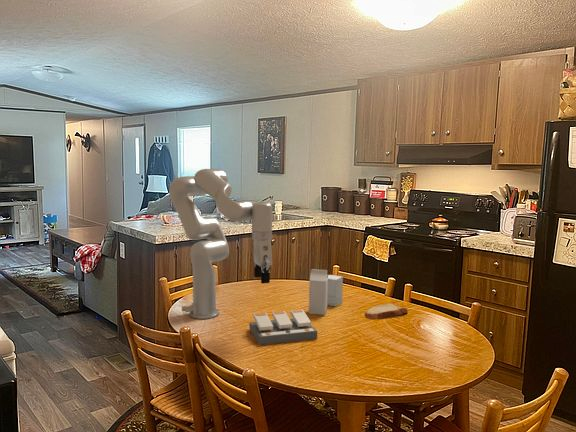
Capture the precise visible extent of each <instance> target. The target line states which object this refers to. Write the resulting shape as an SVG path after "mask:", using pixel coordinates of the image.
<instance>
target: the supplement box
mask: <svg viewBox="0 0 576 432" xmlns="http://www.w3.org/2000/svg"><path fill="white" fill-rule="evenodd" d="M343 280H344V276H342V275H341V276H340V275H333V274H328V295H327V306H331V307H337V306H340V305H341V304H343V288H344V287H343V282H344V281H343Z"/></svg>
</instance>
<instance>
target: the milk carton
mask: <svg viewBox="0 0 576 432" xmlns="http://www.w3.org/2000/svg"><path fill="white" fill-rule="evenodd" d="M328 275H329V274H328V270H327V269H315V268H313V269H312V268H311V269H310V276H309V289H308V290H309V291H308V292H309V295H308V314H310V315H321V316H322V315H323V316H326V313H327V312H328V305H327V295H328Z"/></svg>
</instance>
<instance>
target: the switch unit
mask: <svg viewBox="0 0 576 432" xmlns="http://www.w3.org/2000/svg"><path fill="white" fill-rule="evenodd" d="M289 319H290V321H291V322H292V328H282V329H279V327H278V325H277V323H276V322H275V320H274V319H273V320H271V319H270V321H271V323H272V325H273V329H272V330H262V331H260V330H259V328H258V326H257V324H256V321H251V322H249V329H248V330H249V331H250V333H251V334H252V335H253V337H254V338H255V340H256V341H257V343H258V345H259V346H263V345H273V344H283V343H290V342H291V343H292V342H300V341H311V340H318V330H317V329H316V328H315V327H314V326H313V325H311V326H302V327H298V325H297V324H296V322H295V321H294V319H293V317H292V318H289Z"/></svg>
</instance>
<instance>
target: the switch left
mask: <svg viewBox="0 0 576 432" xmlns="http://www.w3.org/2000/svg"><path fill="white" fill-rule="evenodd" d="M253 320H254V322H256V324H257V326H258V328H259V330H260V331H262V330H272V329H273V325H272V323H271V321H270V320H271V319H270V317H269V315H268V313H267V312H265V311H263V312H254V313H253Z"/></svg>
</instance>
